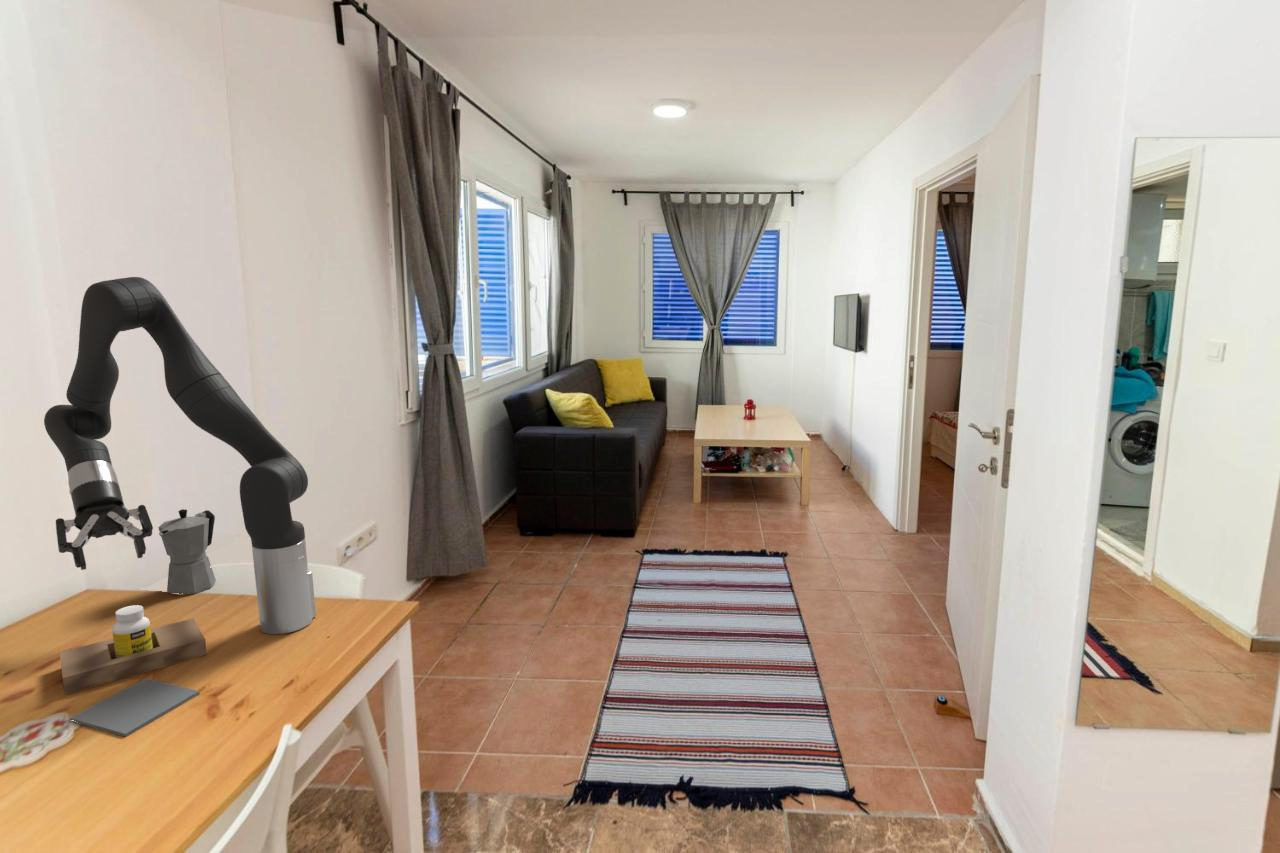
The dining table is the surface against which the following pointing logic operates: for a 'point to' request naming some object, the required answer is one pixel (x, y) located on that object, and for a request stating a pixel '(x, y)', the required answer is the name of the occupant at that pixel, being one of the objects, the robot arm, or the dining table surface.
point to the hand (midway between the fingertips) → (112, 561)
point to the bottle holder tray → (130, 656)
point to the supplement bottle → (131, 631)
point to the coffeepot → (188, 552)
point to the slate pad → (134, 706)
